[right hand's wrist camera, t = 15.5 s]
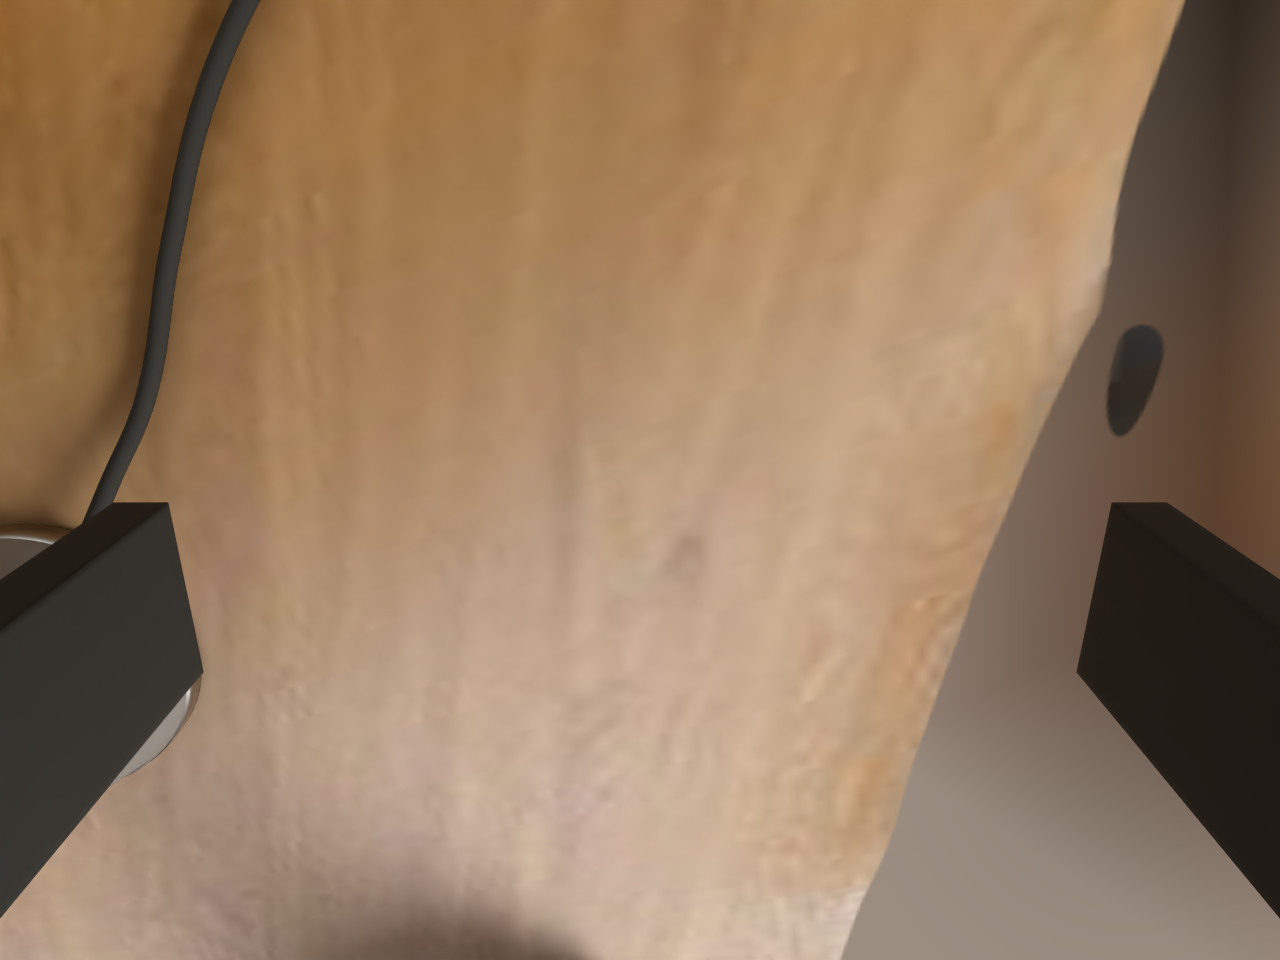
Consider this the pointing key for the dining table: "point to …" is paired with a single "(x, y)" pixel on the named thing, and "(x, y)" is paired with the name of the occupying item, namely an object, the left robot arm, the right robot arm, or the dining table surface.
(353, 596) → the dining table surface
